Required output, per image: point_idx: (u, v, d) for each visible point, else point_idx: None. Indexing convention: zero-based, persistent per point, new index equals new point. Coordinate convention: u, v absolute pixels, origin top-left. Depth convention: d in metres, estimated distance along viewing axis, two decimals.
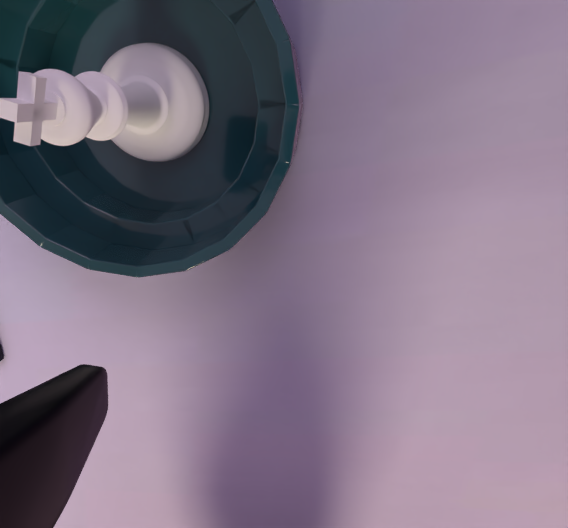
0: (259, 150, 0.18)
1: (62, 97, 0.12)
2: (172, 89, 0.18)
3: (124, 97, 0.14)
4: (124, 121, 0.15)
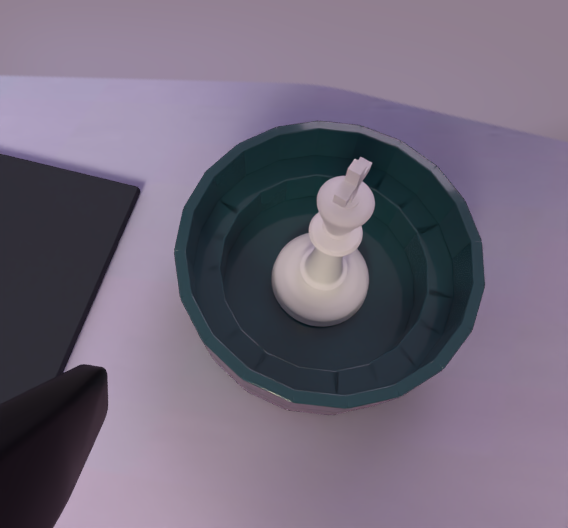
0: (422, 327, 0.20)
1: (359, 192, 0.15)
2: (349, 267, 0.22)
3: (361, 231, 0.18)
4: (356, 246, 0.17)
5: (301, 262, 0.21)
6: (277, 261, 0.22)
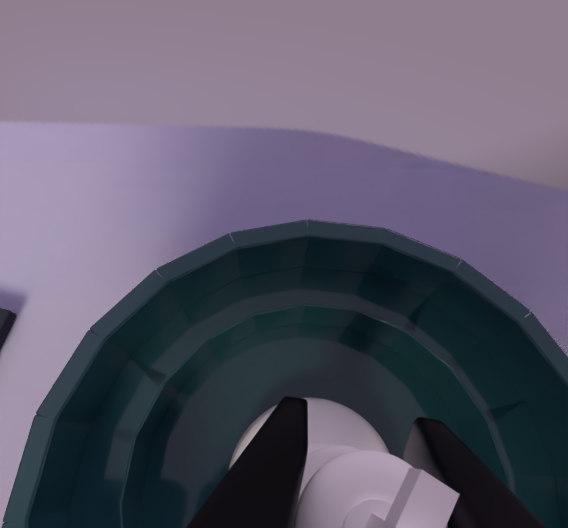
0: None
1: None
2: None
3: None
4: None
5: None
6: None
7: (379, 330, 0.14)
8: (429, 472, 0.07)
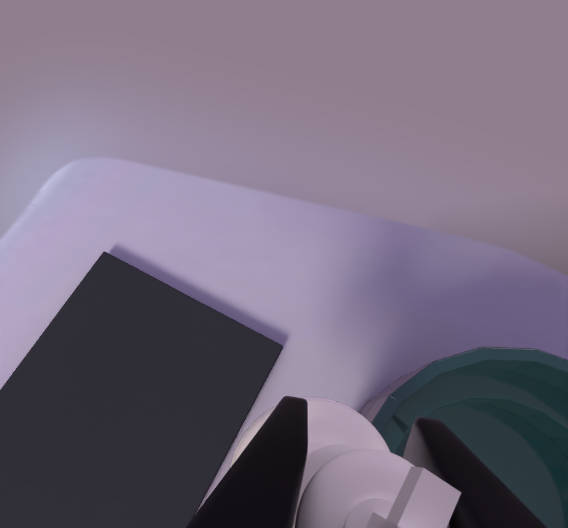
0: None
1: None
2: None
3: None
4: None
5: None
6: None
7: (552, 427, 0.19)
8: None
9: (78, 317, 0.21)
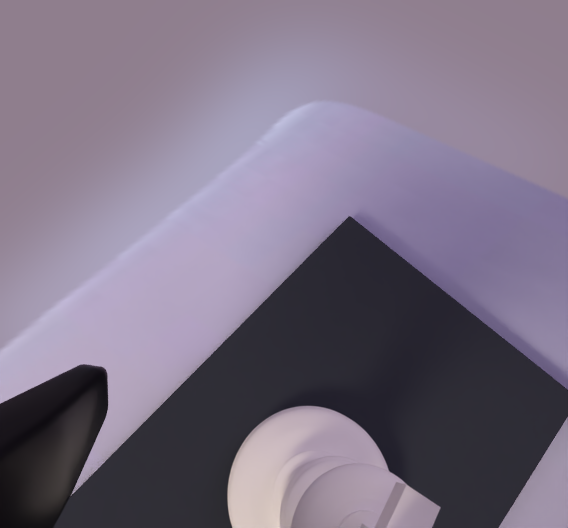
0: None
1: None
2: None
3: None
4: None
5: (275, 487, 0.12)
6: (236, 469, 0.13)
7: None
8: None
9: (312, 291, 0.16)
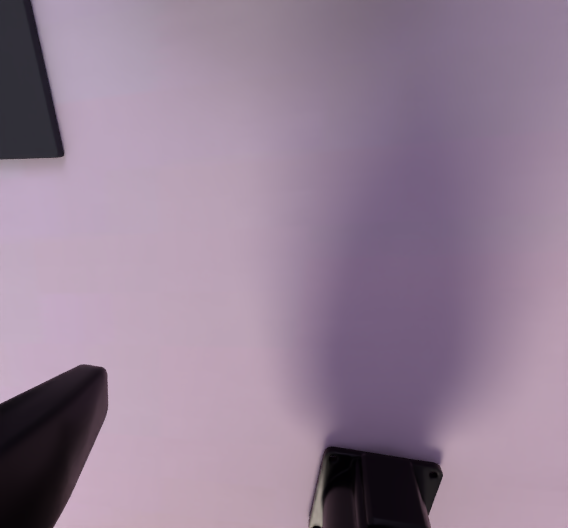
0: None
1: None
2: None
3: None
4: None
5: None
6: None
7: None
8: None
9: None
